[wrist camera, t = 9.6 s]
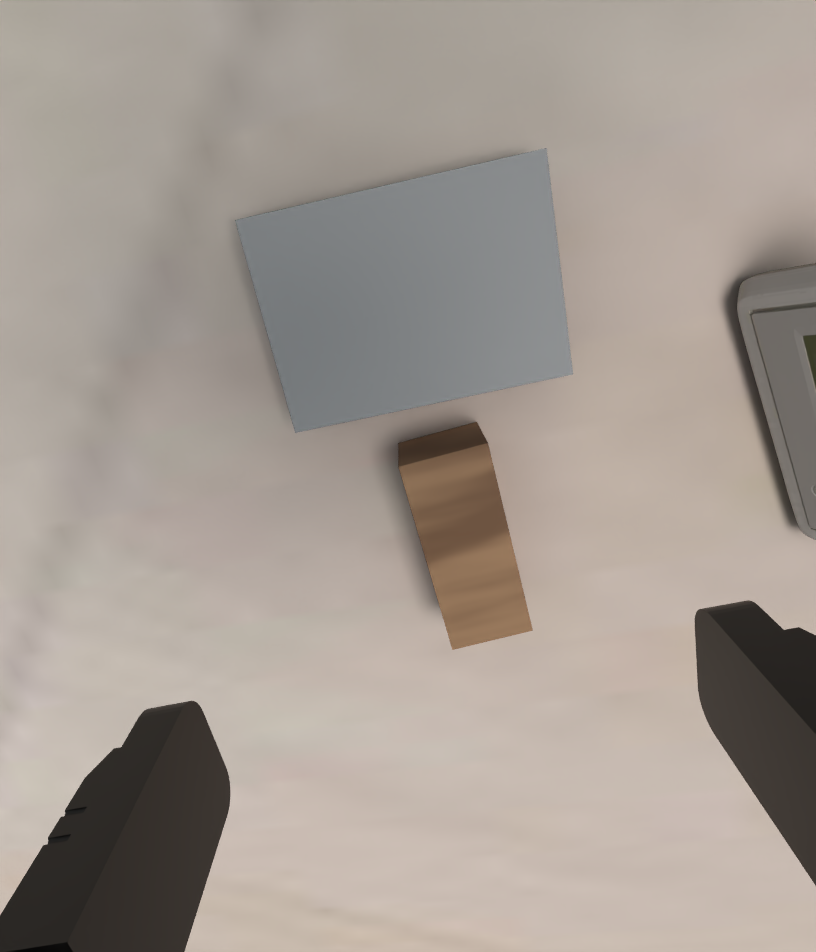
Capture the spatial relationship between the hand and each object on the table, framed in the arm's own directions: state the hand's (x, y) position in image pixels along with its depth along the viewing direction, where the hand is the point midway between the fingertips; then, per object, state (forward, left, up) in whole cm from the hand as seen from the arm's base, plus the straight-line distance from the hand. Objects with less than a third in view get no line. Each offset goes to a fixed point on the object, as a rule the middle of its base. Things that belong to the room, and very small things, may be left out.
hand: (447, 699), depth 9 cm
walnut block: (+2, +1, -22) cm, 22 cm away
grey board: (-5, +1, -24) cm, 24 cm away
